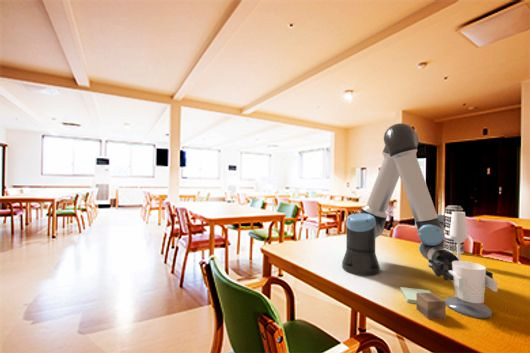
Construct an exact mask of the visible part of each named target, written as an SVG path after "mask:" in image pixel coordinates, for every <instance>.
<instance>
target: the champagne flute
mask: <svg viewBox="0 0 530 353" xmlns="http://www.w3.org/2000/svg"><path fill="white" fill-rule="evenodd" d="M449 235H450V237H451V238H452V239H453V240H454V241H455V242H457V253H456V257H457V258H458V260H459V261H462V259H461V254H460V243H461V242H463V243H464V242H465V241H466V240H467V239H468V237H469V234H468V227H467V218H466V212H465V211H463V212H455V211H453V212H452V217H451V225H450V234H449Z"/></svg>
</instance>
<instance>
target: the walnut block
mask: <svg viewBox="0 0 530 353" xmlns="http://www.w3.org/2000/svg"><path fill="white" fill-rule="evenodd" d="M446 307H447V306H446V302H445V299H443V298H441V297H439V296H438V295H437V294H436V293H434V292H431V293H417V303H416V310H417V312H419V313H420V314H421V315H422V314H423V316H424V317H425V319H427V320H446V318H447V317H446V314H447V312H446V309H447V308H446Z"/></svg>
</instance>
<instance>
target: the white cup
mask: <svg viewBox="0 0 530 353" xmlns="http://www.w3.org/2000/svg"><path fill="white" fill-rule="evenodd" d="M452 270H453V272H454V273H455V274H457V275H458V276H459V277H461V278H462V288H459V287H458V286H457V285H455V284H454V283H453V286H454V287H453V288H454V295H455V296H454V297H458V298H459V299H461V300H464V301H467V302H471V303H481V304H484V303H485V293H486V285H485V280H486V270H487V268H486V267H485V266H484V265H483V264H480V263H477V262H476V263H475V262H471V261H466V260H461V261H453V262H452Z"/></svg>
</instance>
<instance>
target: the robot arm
mask: <svg viewBox="0 0 530 353" xmlns="http://www.w3.org/2000/svg"><path fill="white" fill-rule="evenodd" d="M383 142H384V148H383V150H382V156H383V160H382V163H381V166H380V169H379V171H378V172H377V173H378V174H377V177H376V179H375V182H374V184H373V186H372V188H371V189H372V190H371V192H370V195H369V198H368V199H367V203H366V205H364V206H362V207H361V208H360V212H358V213H357V212H356V213H351V214H349V215H348V216H347V217H346V222H345V224H346V248H345V249H346V250H345V253H344V256H343V260H342V262H341V263H342V264H341V266H342V269H343V270H344V271H346V272H347V273H350V274H352V275H353V274H354V275H358V276H364V277H372V276H377V275H379V274H380V273H381V272H380V270H381V267H380V264H379V260H378V257H377V254H376V239H377V238H378V237H381V235H382V234H383V233H384V230H385V223H386V221H387V218H388V215H387V213H386V211H387V209H388V205H389V204H390V201H391V199H392V196H393V193H394V192H395V188H396V186H397V184H398V181H399V178H400V181H401V184H402V186H403V189H404V193H405V196H406V199H407V201H408V204H409V207H410V210H411V212H412V216H413V218H414V222H415V224H416V225H415V226H416V229H417V236H418V238H419V240H420V244H419V246H418V250H419V253H420V254H421V255H422V257H423V258H424V259H425V260H427V261H428V268H430V269H431V270H432V271H433V273H434V274H435V276H436V277H441V276H442V277H443V279H442V280H444V281H451V283H453V285H454V284H455V285H457V286H458V287H459V288H462V278H461V277H459V276H458V275H457V274H455V273H454V272H453V270H452V262H453V261H459V260H458V258H457V255H455V253H451V252H449V251H448V250H446V249H445V248H444V246H445V245H444V243H445V242H444V240H445V239H444V237H445V229H444V227H445V226H444V224H445V223H444V221H445V219H443V218H444V216H443V215H442V214H437V211H436V208H435V206H434V205H435V204H434V202H433V200H432V196H431V194H430V192H429V189H428V185H427V182H426V180H425V179H426V178H424V177H425V176H424V174H423V172H422V168H421V166H420V162H419V159H418V158H417V152H418V146H419V136H418V134H417V132H416V131H415V130H414V129H413V127H412V126H410V125H409V124H406V123H401V122H400V123H395V124H393V125H391V126H389V127H388V128H387V129H386V131H385V132H384V135H383ZM493 275H494V274H493V272H491V271H489V270H487V269H486V280H485V287H487V288H489V289H490V290H491V291H493V292H495V293H496V292H498V281H497V280H495V279H494V278H493V277H494V276H493Z"/></svg>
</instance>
